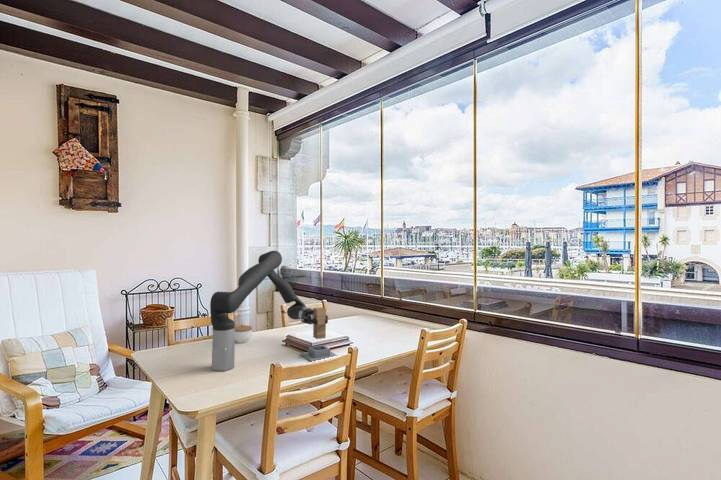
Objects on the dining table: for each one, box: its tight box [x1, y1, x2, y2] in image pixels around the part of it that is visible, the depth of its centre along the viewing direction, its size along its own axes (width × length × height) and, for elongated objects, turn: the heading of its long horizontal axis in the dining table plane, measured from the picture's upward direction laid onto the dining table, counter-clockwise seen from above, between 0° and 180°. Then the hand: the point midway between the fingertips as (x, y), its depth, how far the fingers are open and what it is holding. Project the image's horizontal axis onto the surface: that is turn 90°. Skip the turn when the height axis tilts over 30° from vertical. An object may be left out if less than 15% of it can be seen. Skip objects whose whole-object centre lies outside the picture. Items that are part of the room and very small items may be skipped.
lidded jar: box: [235, 323, 253, 344], centre depth 214 cm, size 11×11×9 cm
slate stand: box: [299, 344, 338, 363], centre depth 189 cm, size 14×14×4 cm
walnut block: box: [312, 307, 327, 340], centre depth 189 cm, size 4×4×14 cm
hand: (321, 321), depth 187 cm, fingers closed on walnut block, 4 cm apart
